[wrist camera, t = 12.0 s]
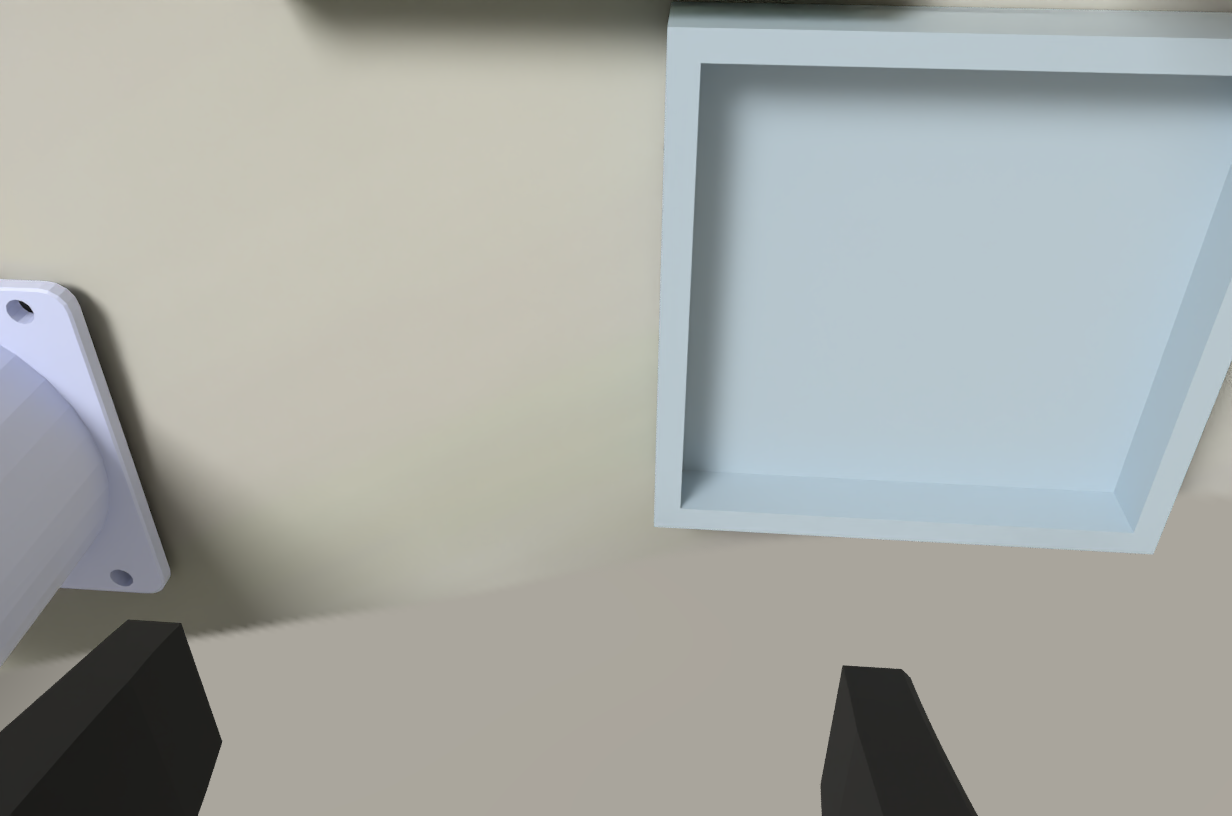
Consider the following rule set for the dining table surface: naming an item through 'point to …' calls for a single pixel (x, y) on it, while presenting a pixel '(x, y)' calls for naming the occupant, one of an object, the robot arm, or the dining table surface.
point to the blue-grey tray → (941, 270)
